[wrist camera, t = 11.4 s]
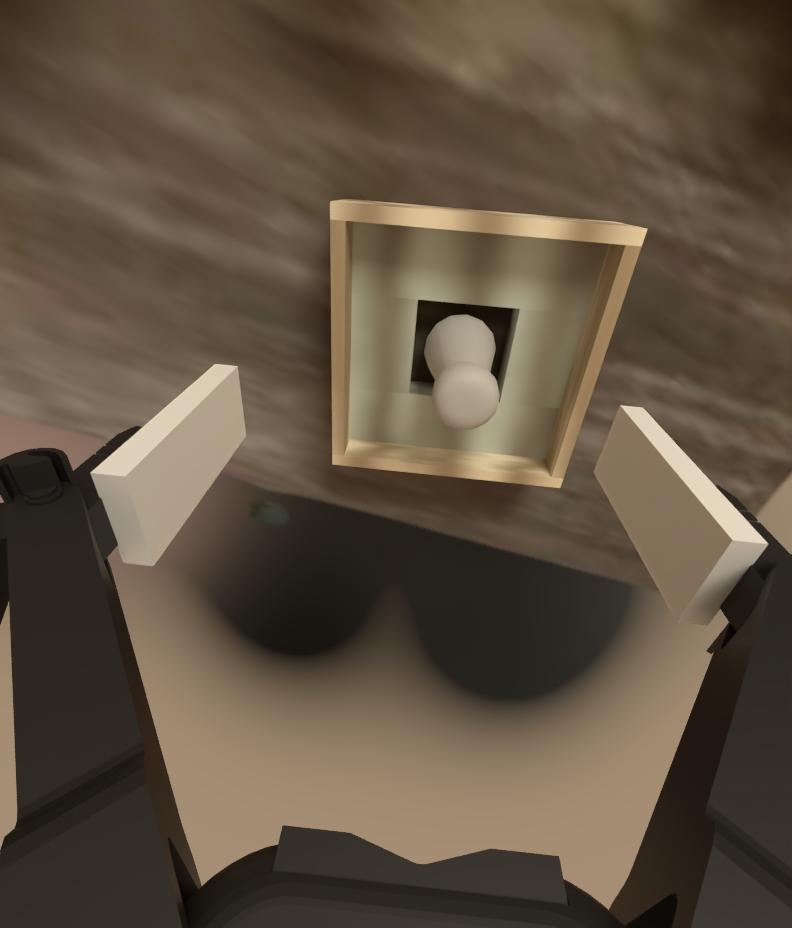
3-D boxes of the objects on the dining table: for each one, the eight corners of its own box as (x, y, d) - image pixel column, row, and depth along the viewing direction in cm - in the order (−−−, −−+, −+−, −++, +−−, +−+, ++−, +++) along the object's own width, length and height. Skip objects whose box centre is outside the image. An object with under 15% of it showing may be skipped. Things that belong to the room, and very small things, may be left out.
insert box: (344, 432, 44) (332, 464, 39) (346, 198, 33) (330, 201, 28) (545, 452, 43) (560, 488, 38) (614, 221, 32) (647, 228, 27)
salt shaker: (505, 344, 38) (533, 409, 27) (454, 386, 40) (460, 461, 29) (463, 292, 36) (474, 339, 25) (411, 339, 38) (400, 401, 27)
